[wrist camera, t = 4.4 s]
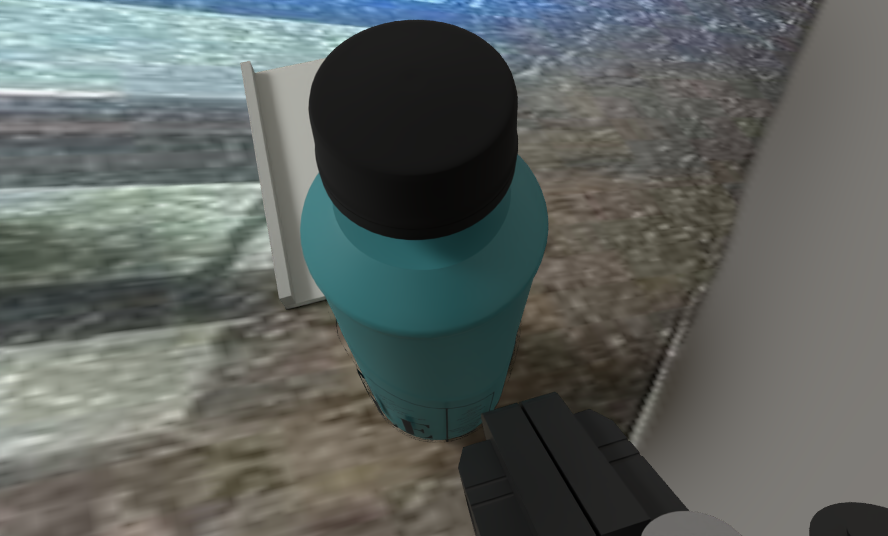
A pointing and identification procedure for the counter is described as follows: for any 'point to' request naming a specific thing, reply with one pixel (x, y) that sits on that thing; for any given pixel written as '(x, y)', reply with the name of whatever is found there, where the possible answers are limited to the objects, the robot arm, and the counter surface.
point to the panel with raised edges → (284, 168)
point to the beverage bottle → (423, 219)
